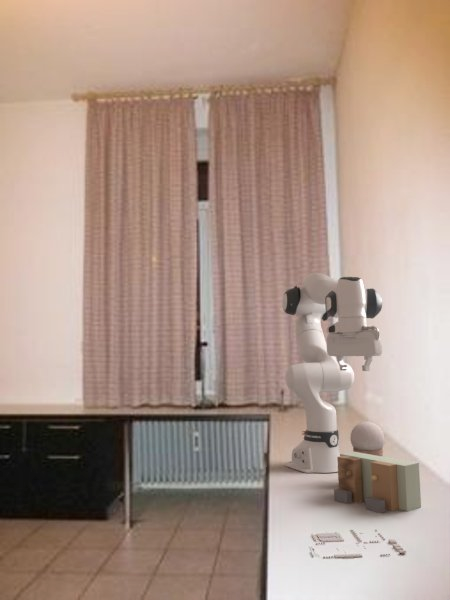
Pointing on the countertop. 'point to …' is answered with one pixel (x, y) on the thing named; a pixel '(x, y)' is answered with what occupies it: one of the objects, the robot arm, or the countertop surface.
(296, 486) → the countertop surface
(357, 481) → the wooden block with peg
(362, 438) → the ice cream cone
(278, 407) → the countertop surface
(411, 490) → the cabinet
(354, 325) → the robot arm
